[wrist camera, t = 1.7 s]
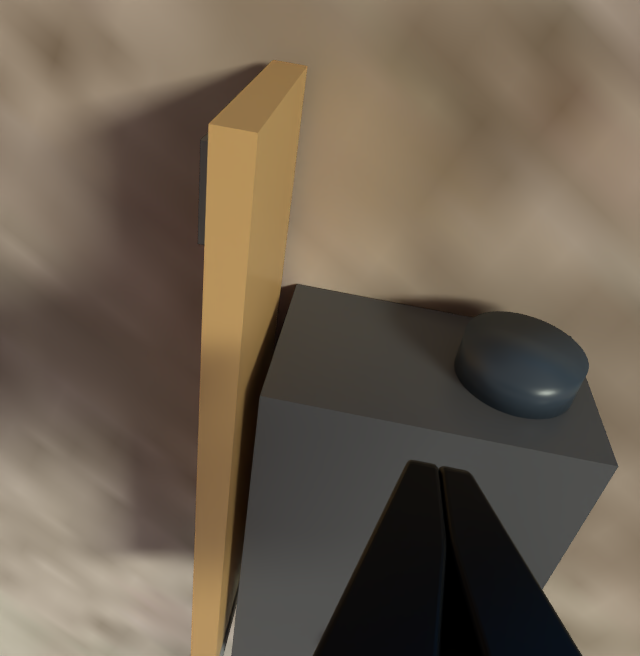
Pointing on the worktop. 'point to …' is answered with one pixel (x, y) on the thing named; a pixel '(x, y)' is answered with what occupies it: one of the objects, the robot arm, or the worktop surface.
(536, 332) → the action camera body
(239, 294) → the side door
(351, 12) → the worktop surface
